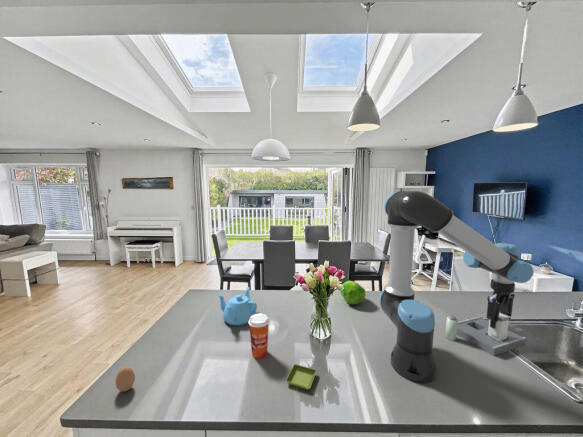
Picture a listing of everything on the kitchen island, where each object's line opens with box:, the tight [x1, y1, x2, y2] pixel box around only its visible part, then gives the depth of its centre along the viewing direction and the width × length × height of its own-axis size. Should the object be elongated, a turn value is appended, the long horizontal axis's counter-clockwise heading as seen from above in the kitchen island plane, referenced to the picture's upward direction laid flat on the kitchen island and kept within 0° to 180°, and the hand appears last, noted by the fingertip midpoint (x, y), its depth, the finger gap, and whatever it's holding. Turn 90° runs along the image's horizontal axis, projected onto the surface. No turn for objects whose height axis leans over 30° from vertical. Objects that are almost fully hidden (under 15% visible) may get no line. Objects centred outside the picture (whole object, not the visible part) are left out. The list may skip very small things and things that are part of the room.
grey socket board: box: [456, 316, 527, 357], centre depth 106 cm, size 20×18×3 cm
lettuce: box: [340, 280, 367, 306], centre depth 142 cm, size 14×20×12 cm
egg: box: [115, 366, 136, 393], centre depth 78 cm, size 5×5×8 cm
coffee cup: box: [247, 313, 271, 359], centre depth 95 cm, size 8×8×15 cm
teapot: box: [216, 286, 259, 327], centre depth 122 cm, size 17×19×12 cm
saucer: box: [285, 363, 317, 390], centre depth 83 cm, size 9×9×2 cm
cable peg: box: [444, 315, 459, 341], centre depth 105 cm, size 4×4×10 cm
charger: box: [488, 313, 510, 342], centre depth 101 cm, size 5×4×10 cm
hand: (497, 333), depth 102 cm, fingers closed on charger, 4 cm apart
